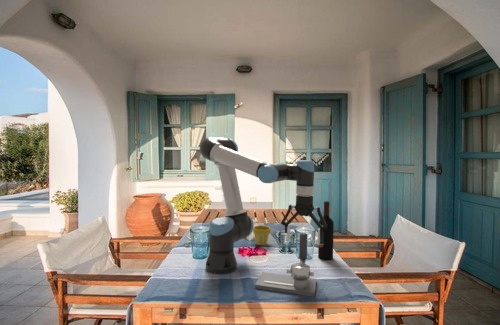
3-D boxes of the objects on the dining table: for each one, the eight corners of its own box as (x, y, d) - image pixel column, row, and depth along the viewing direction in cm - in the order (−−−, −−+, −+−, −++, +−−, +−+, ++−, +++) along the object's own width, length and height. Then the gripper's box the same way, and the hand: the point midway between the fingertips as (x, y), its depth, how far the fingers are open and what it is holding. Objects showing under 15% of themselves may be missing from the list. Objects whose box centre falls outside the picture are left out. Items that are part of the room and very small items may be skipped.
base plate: (255, 288, 123) (255, 275, 122) (262, 275, 135) (262, 263, 135) (314, 296, 116) (314, 282, 116) (316, 282, 128) (316, 269, 128)
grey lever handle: (291, 261, 136) (291, 232, 136) (315, 264, 133) (316, 234, 133) (285, 278, 118) (286, 244, 118) (313, 282, 116) (314, 247, 115)
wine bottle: (330, 261, 152) (331, 203, 150) (316, 258, 156) (317, 202, 154) (334, 257, 158) (335, 201, 157) (320, 254, 162) (322, 200, 161)
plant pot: (273, 242, 181) (273, 227, 181) (264, 247, 173) (264, 230, 172) (258, 239, 187) (258, 224, 186) (249, 244, 178) (249, 228, 178)
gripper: (275, 194, 131) (274, 241, 133) (333, 198, 125) (331, 247, 126) (278, 192, 139) (277, 236, 140) (333, 195, 132) (332, 242, 133)
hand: (303, 242), depth 133 cm, fingers open, 13 cm apart
